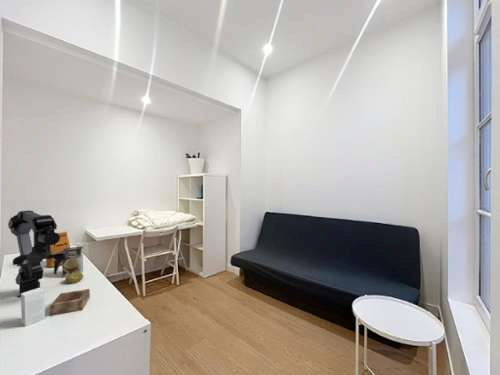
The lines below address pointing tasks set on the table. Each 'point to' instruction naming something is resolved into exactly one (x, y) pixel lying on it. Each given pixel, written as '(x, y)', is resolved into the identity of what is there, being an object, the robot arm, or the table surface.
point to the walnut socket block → (70, 302)
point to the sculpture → (71, 279)
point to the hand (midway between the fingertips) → (42, 275)
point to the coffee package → (58, 248)
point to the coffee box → (73, 261)
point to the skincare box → (32, 306)
